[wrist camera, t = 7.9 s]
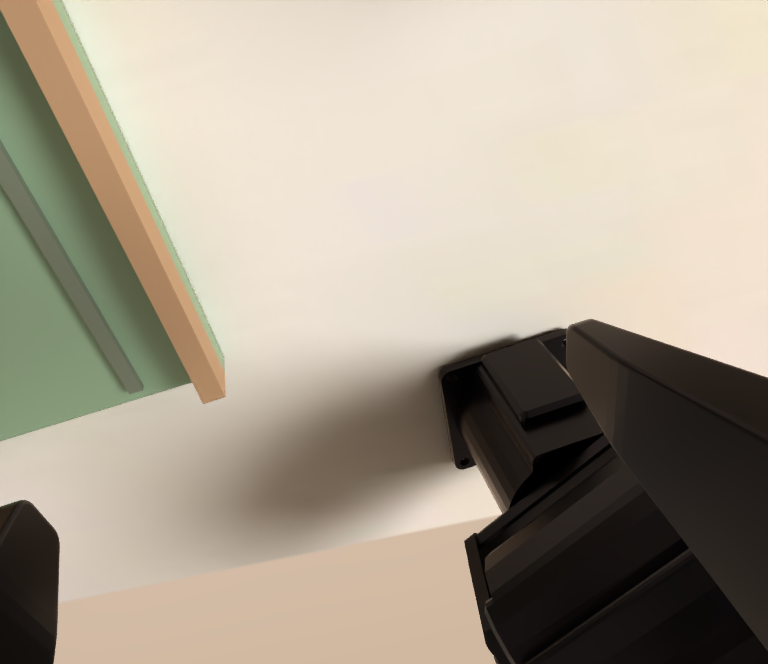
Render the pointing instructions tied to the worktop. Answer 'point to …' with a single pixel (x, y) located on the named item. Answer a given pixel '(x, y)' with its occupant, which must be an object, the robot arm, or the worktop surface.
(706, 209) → the worktop surface
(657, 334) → the worktop surface
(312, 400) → the worktop surface
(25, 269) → the pitch
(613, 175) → the worktop surface
